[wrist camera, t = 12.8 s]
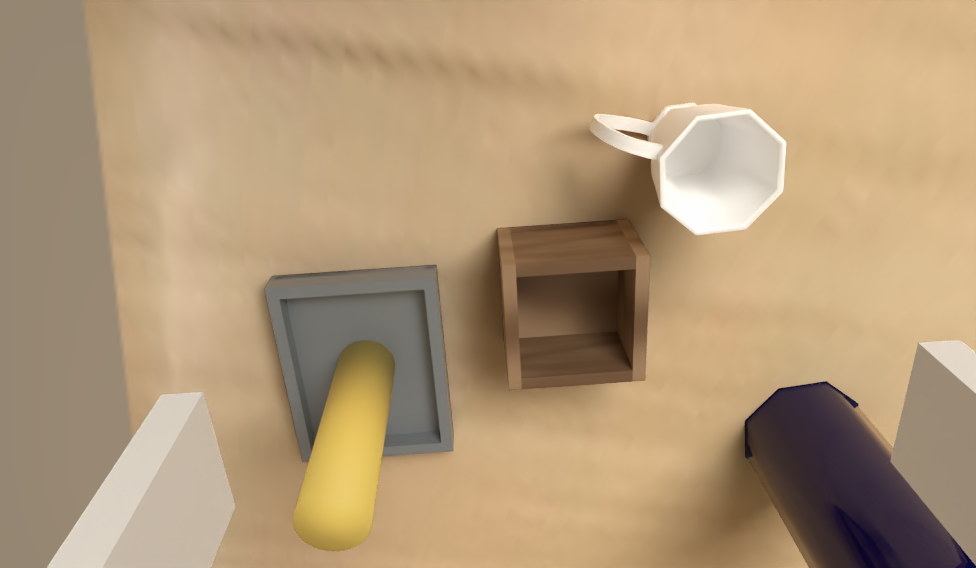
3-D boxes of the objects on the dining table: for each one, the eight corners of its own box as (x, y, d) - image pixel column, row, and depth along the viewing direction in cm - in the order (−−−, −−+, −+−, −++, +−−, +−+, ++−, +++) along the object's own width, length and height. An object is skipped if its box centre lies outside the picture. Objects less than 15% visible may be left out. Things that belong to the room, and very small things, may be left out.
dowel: (334, 342, 49) (286, 495, 36) (392, 338, 49) (365, 489, 36) (342, 390, 51) (300, 553, 37) (398, 386, 51) (376, 548, 37)
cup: (709, 202, 46) (755, 251, 39) (563, 163, 45) (583, 206, 38) (755, 96, 43) (813, 127, 36) (601, 51, 42) (629, 74, 35)
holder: (497, 228, 47) (501, 265, 41) (628, 219, 47) (650, 255, 41) (504, 341, 50) (509, 390, 45) (625, 333, 50) (645, 380, 45)
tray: (271, 276, 48) (264, 289, 46) (436, 264, 48) (435, 277, 46) (307, 444, 54) (302, 461, 52) (453, 433, 54) (453, 451, 52)
